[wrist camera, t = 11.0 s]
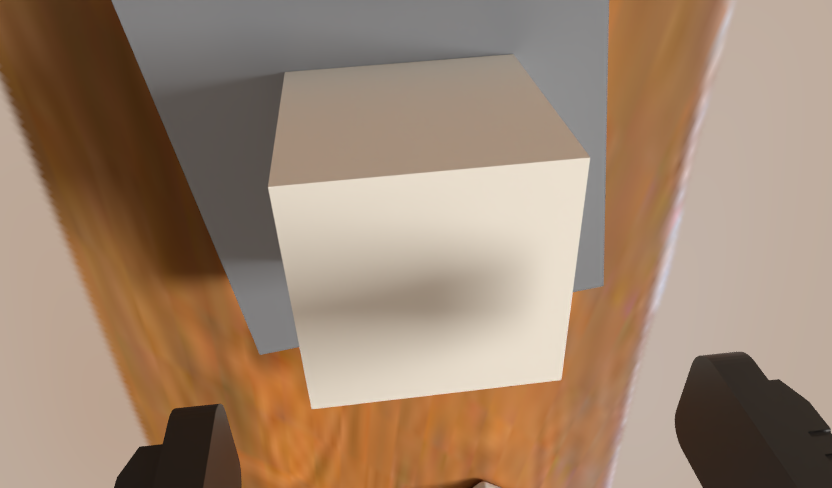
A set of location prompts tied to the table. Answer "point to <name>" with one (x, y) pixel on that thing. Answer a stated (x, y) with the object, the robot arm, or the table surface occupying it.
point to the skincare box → (485, 485)
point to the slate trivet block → (336, 48)
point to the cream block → (426, 227)
